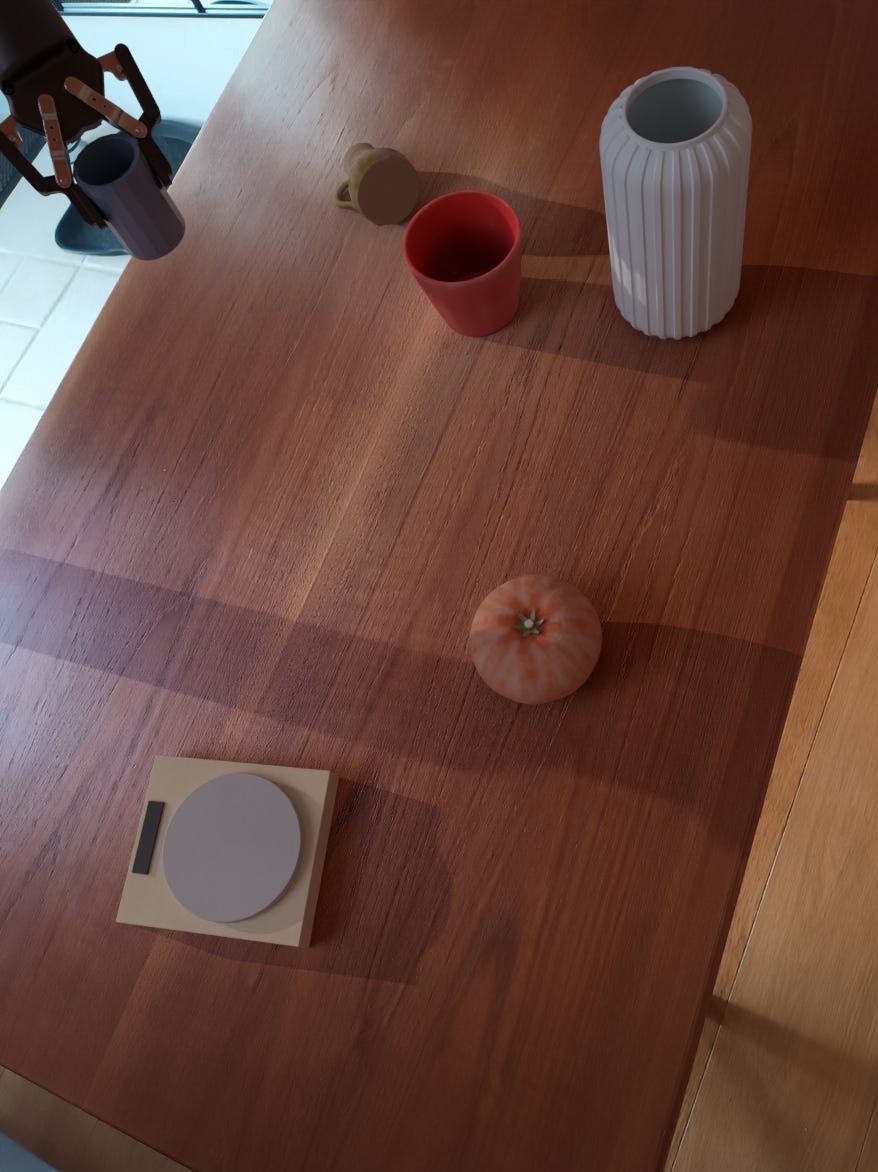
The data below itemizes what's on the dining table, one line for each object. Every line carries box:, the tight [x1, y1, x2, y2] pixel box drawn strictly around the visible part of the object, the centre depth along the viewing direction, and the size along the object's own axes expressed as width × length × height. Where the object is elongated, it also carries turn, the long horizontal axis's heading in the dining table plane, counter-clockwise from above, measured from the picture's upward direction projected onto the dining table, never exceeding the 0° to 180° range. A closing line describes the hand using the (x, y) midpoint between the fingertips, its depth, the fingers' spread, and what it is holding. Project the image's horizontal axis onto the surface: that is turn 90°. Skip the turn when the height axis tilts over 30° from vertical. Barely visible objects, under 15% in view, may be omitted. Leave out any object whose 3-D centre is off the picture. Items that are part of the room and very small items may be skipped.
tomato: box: [468, 574, 603, 705], centre depth 80 cm, size 11×11×8 cm
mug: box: [333, 142, 421, 227], centre depth 102 cm, size 8×10×10 cm
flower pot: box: [401, 189, 523, 338], centre depth 93 cm, size 11×11×10 cm
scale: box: [115, 754, 340, 949], centre depth 82 cm, size 16×14×3 cm
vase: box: [598, 65, 753, 341], centre depth 83 cm, size 12×12×22 cm
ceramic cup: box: [72, 133, 187, 262], centre depth 87 cm, size 6×6×8 cm
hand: (136, 205), depth 85 cm, fingers closed on ceramic cup, 6 cm apart
